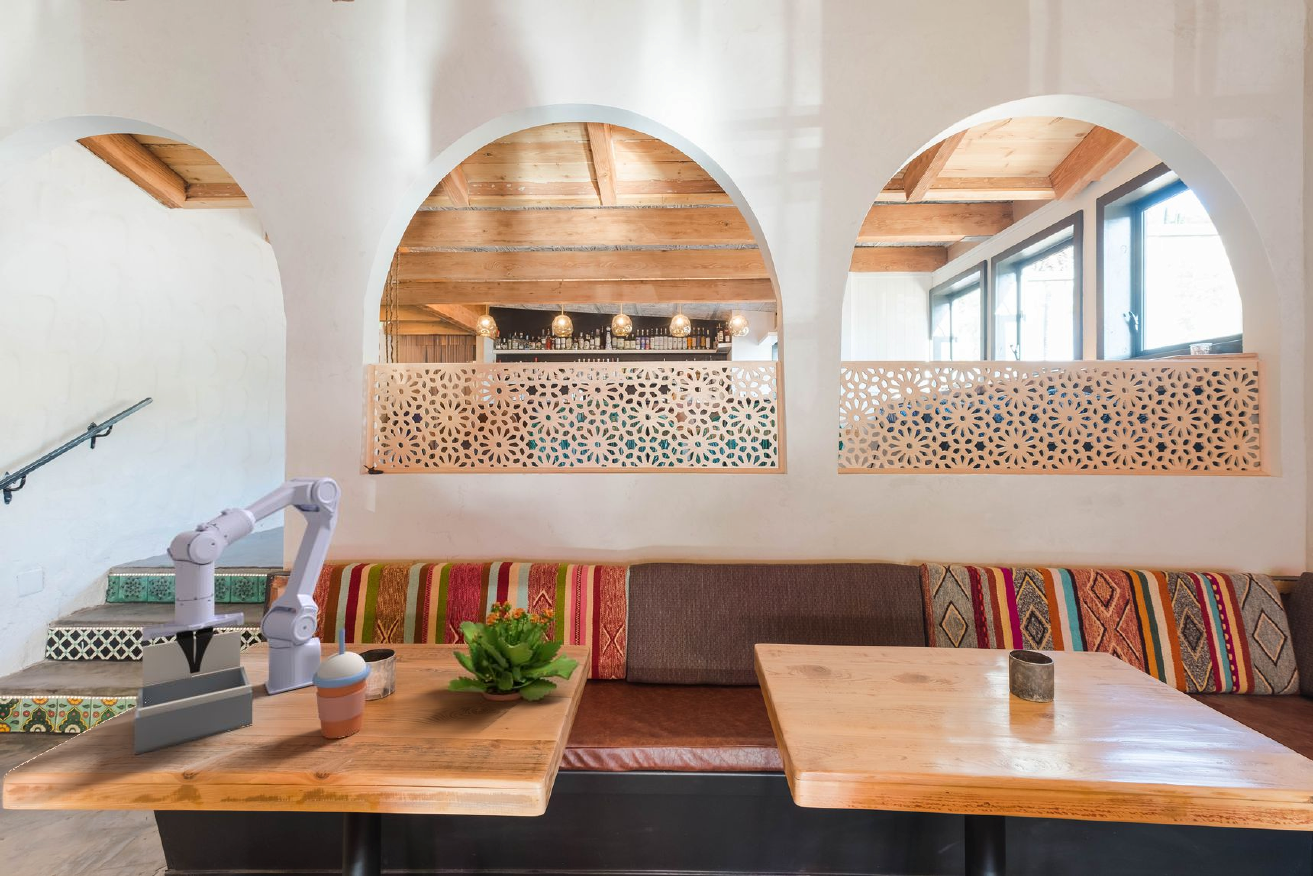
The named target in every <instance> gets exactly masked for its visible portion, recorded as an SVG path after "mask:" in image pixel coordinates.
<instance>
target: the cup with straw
mask: <svg viewBox="0 0 1313 876" xmlns="http://www.w3.org/2000/svg"><path fill="white" fill-rule="evenodd" d="M345 633H346V630H345V628H340V629H338V652H336V653H333V654H332V655H330V656H327V658H326V659H324V660H323V662H322V661H321V665H320V667H319V669H318V671H317V672H315V674H314V675H313V678H312V682H313V684H314V685H313V686H315V687H316V703H317V711H318V719H319V720H320V728H321V735H322V737H323V736H324V737H326V738H325V739H327V738H339V737H342V736H348V735H350V734H352V733H355V732H356V733H357V731H358V730H359V731H360V730H361V728H362V722H363V714H364V711H365V704H366V693H367V685H368V684H367V678H368V677H369V676H370V675H371V674H370V673H371V666H370V665H369V664H368V663H367V662H366V661H365V660H364V658H363V656H361V655H360V654H358V653H355V652H352V651H345V650H346V646H345V645H346V641H345V640H346V637H345V635H346V634H345ZM359 731H358V732H359ZM356 733H355V734H356ZM350 736H351V735H350ZM324 737H323V738H324ZM348 737H349V736H348ZM339 739H340V738H339Z"/></svg>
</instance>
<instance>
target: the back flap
mask: <svg viewBox="0 0 1313 876" xmlns="http://www.w3.org/2000/svg"><path fill="white" fill-rule="evenodd" d="M241 638H242V630H241V629H240V630H234V631H229V632H228V631H227V632H221V633H216V634H215V633H214V634H213V637H212V639H211V641H210V642H209V644H208V646H207V648H206V651H205V653H204V656H203V658H202V662H201V666H200V672H196V673H191V674H190V668H189V664H188V661H187V658H186V656H185V654H184V652H183V650H182V648H181V647H180V645H179V644H178V642H177V640H175V641H169V642H164V643H163V642H162V643H157V644H150V645H144V646H142V687H145V686H150V685H155V684H160V683H165V682H170V681H175V680H180V679H185V678H190V677H195V676H200V675H205V674H210V673H215V672H220V671H225V670H230V669H235V668H240V667H241V648H242V647H241V645H242V641H241ZM195 655H196V637H194V663H195Z"/></svg>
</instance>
